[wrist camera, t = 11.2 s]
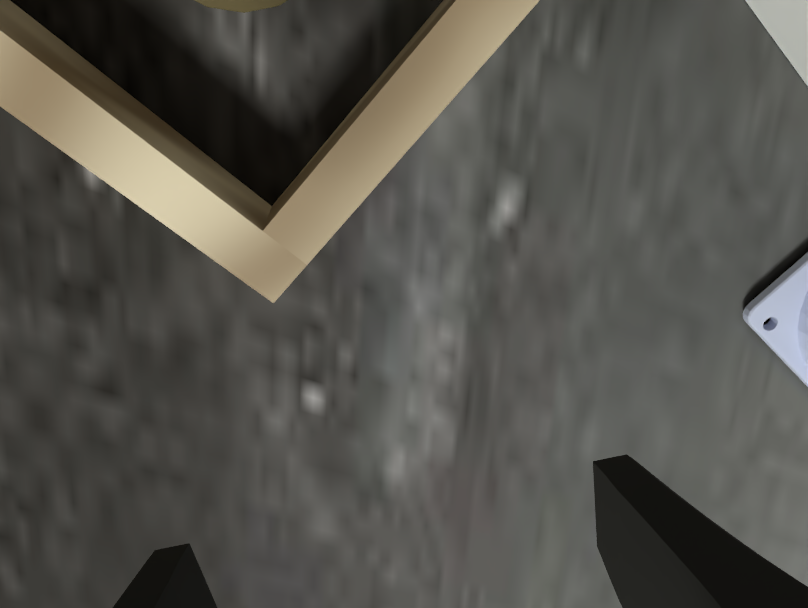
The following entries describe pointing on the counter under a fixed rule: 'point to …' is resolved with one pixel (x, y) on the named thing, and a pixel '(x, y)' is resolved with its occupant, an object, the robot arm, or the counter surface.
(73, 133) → the wooden square frame
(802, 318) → the robot arm
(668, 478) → the counter surface
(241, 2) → the cork
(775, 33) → the white picture frame
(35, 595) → the counter surface
